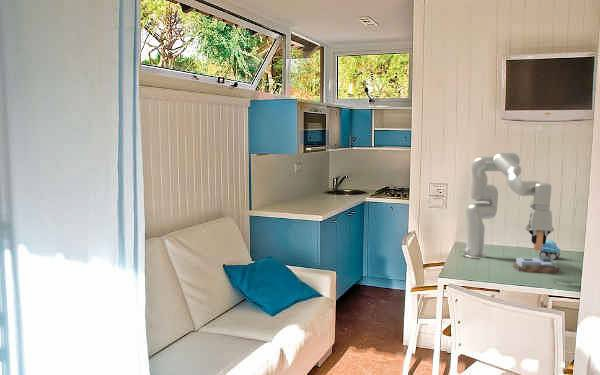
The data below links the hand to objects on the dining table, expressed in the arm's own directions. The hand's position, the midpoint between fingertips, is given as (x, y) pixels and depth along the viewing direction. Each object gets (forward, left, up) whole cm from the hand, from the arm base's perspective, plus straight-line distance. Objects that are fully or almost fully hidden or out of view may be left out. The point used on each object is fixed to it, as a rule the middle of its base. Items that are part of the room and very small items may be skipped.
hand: (538, 243), depth 270 cm
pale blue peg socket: (+4, +12, -17) cm, 21 cm away
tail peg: (0, 0, -3) cm, 3 cm away
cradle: (+4, +12, -18) cm, 22 cm away
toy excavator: (+22, +48, -18) cm, 56 cm away
